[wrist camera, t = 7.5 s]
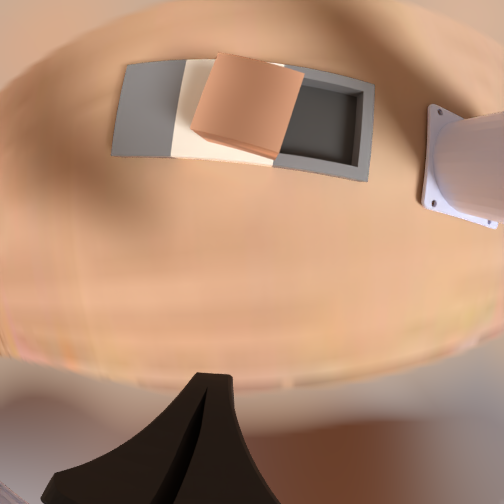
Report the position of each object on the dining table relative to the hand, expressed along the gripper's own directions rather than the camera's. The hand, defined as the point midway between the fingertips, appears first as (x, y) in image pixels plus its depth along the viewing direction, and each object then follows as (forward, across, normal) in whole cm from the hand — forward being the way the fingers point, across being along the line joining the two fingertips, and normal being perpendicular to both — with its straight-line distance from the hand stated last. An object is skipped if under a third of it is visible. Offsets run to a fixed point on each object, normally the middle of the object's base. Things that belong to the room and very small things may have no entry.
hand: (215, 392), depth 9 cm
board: (+9, 0, -12) cm, 15 cm away
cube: (+8, -1, -11) cm, 14 cm away
